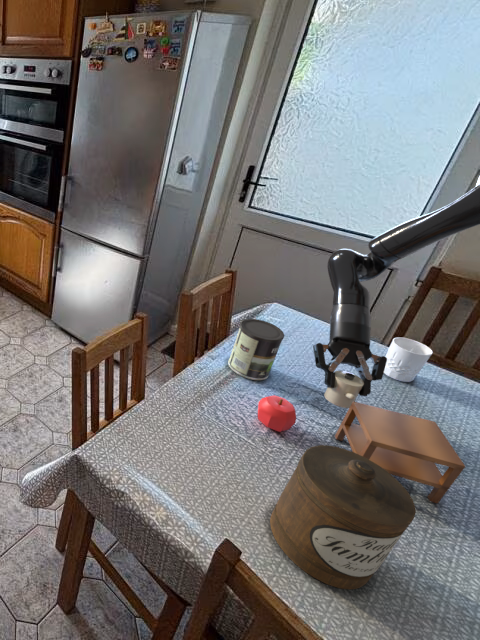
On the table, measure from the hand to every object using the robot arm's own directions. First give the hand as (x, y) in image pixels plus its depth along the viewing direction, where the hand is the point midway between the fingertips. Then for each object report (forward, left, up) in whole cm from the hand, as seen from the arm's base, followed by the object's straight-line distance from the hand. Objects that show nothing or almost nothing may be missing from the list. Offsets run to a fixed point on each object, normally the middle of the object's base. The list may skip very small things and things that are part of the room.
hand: (346, 391), depth 100 cm
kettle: (0, -1, -4) cm, 4 cm away
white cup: (-21, -28, -9) cm, 36 cm away
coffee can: (+17, -13, -9) cm, 23 cm away
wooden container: (+11, +38, -9) cm, 41 cm away
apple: (+14, +8, -9) cm, 19 cm away
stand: (-6, +12, -9) cm, 16 cm away
